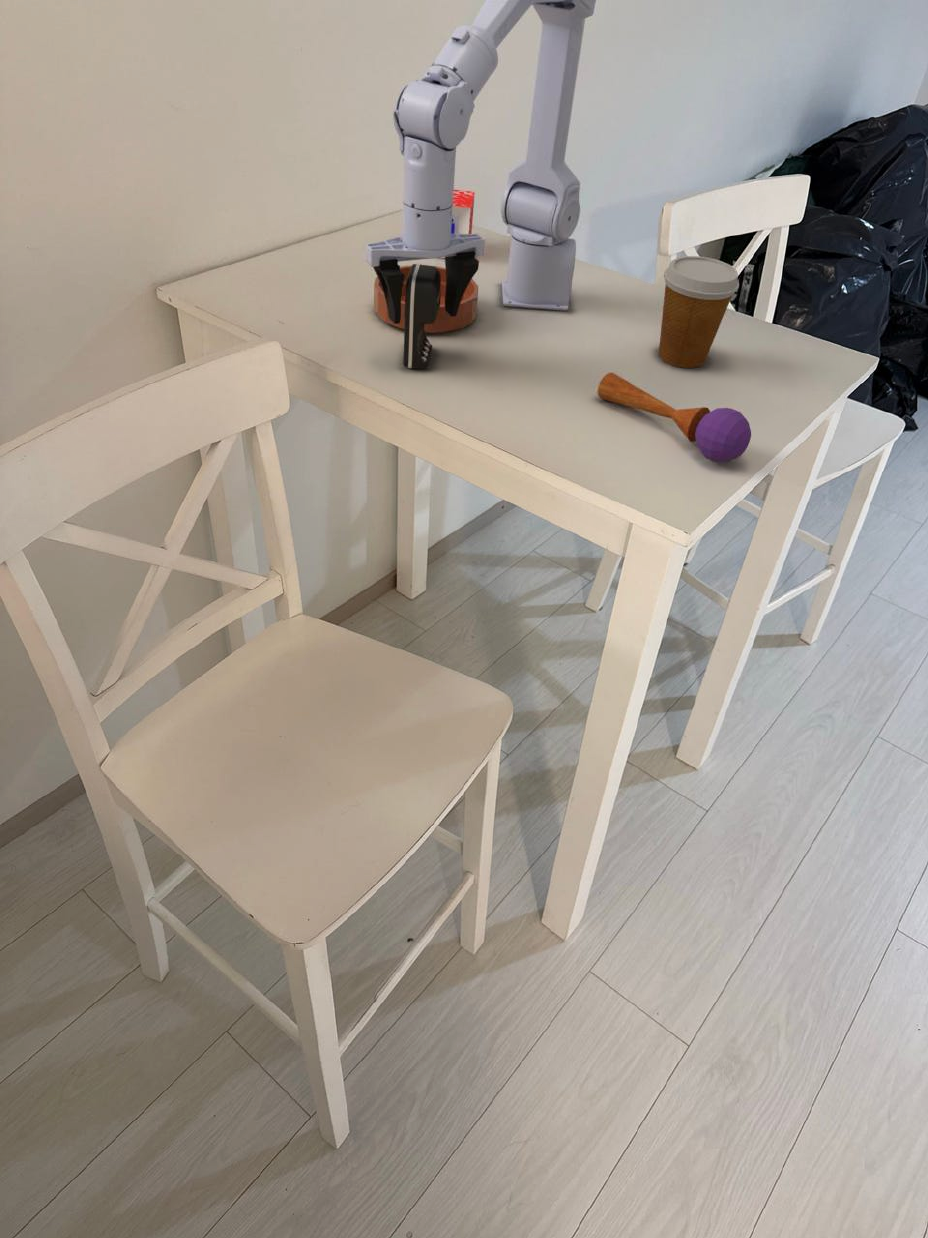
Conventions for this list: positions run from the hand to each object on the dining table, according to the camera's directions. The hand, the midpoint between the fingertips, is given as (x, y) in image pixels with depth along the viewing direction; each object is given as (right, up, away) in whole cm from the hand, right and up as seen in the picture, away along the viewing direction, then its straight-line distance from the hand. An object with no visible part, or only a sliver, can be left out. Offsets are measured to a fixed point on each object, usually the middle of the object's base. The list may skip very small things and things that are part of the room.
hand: (422, 316), depth 113 cm
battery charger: (0, -4, +4) cm, 6 cm away
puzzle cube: (+2, +22, +33) cm, 40 cm away
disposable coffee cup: (+35, -2, +10) cm, 36 cm away
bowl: (0, +5, +14) cm, 15 cm away
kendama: (+29, -16, -5) cm, 34 cm away
